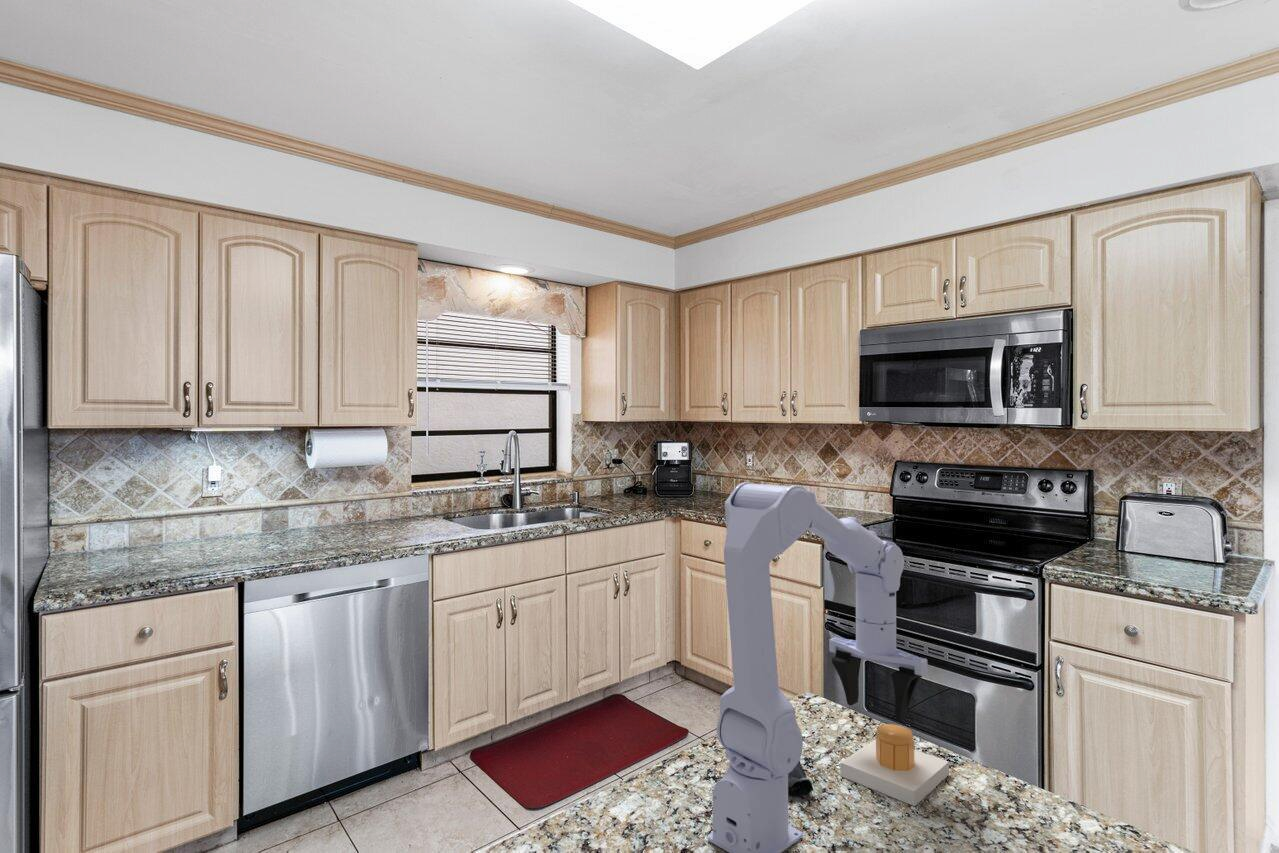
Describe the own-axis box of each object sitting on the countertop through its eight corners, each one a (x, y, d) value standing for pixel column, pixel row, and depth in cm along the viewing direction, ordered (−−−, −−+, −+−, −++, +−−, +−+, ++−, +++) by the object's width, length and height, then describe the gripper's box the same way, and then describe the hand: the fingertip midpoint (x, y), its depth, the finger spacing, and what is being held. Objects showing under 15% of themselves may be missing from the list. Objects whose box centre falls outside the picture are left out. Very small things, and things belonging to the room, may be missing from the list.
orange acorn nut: (904, 774, 92) (903, 742, 92) (871, 761, 96) (870, 731, 96) (919, 762, 96) (918, 731, 96) (886, 750, 99) (886, 721, 99)
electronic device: (819, 810, 90) (791, 745, 105) (815, 773, 89) (788, 713, 104) (753, 819, 90) (735, 753, 104) (749, 782, 89) (731, 721, 104)
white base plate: (914, 806, 88) (914, 769, 88) (840, 776, 96) (840, 741, 96) (949, 775, 96) (948, 741, 96) (878, 749, 104) (878, 718, 104)
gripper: (935, 624, 94) (936, 718, 94) (845, 605, 105) (845, 690, 105) (914, 633, 90) (915, 732, 89) (822, 613, 100) (822, 701, 100)
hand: (876, 710), depth 97 cm, fingers open, 7 cm apart
